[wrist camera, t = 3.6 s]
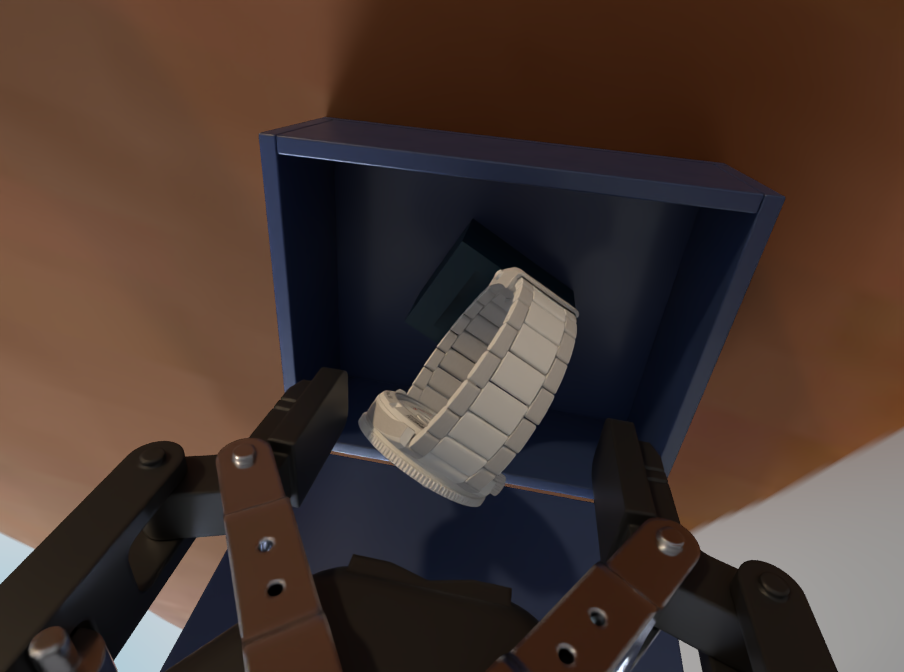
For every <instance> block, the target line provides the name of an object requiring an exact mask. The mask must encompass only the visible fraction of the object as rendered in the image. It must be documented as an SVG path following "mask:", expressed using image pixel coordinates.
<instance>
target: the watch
mask: <svg viewBox="0 0 904 672" xmlns="http://www.w3.org/2000/svg"><path fill="white" fill-rule="evenodd" d="M578 317H579V312H578V311H577V310H576V307H575V299H574V291H573V290H571V289H570V288H568V287H567V286H566V285H564V284H563V283H562V282H560V281H559V280H557V279H556V278H555V277H553V276H552V275H551V274H549V273H548V272H546V271H545V270H544V269H542V268H541V267H539V266H538V265H537V264H535V263H534V262H533V261H531V260H530V259H528V258H527V257H526V256H524V255H523V254H521V253H520V252H519V251H517V250H516V249H515V248H513V247H512V246H510V245H509V244H508V243H506V242H505V241H503V240H502V239H501V238H499V237H498V236H497V235H495V234H494V233H492V232H491V231H490V230H488V229H487V228H486V227H484V226H483V225H481V224H480V223H479V222H477V221H476V220H474V219H472V220H471V221H470V223H469V224H468V226H467V227H466V228H465V230H464V231H463V233H462V234H461V235H460V237H459V238H458V240H457V241H456V242H455V244H454V245H453V247H452V248H451V249H450V251H449V252H448V254H447V255H446V256H445V258H444V259H443V261H442V262H441V264H440V265H439V266H438V268H437V269H436V271H435V272H434V273H433V275H432V276H431V278H430V279H429V280H428V282H427V283H426V285H425V286H424V287H423V289H422V290H421V292H420V293H419V295H418V297H417V299H416V301H415V303H414V304H413V306H412V308H411V310H410V312H409V314H408V316H407V317H406V319H405V321H404V322H406V323H407V324H409V325H410V326H412V327H413V328H415V329H416V330H418V331H419V332H421V333H422V334H424V335H425V336H427V337H428V338H430V339H431V340H433V341H434V342H436V343H437V344H438V345H437V348H439V349H440V350H442V351H443V352H445V353H443V352H442V351H440V350H439V349H437V348H436V349H435V350H434V352H433V353H432V354H431V356H430V357H429V359H428V360H427V362H426V363H425V364H424V366H425V367H426V368H425V367H423V368H422V370H421V371H420V373H419V374H418V376H417V377H416V379H415V380H414V382H413V384H412V386H411V388H410V389H409V391H408V392H407V394H406V392H405V391H403V390H401V389H398V390H397V391H388V390H386V391H383V392H382V393H381V394H379V395H378V396H377V397H376V399H375V400H374V402H373V403H372V405H371V406H370V408H369V409H368V411H367V412H364V413H363V414H362V416H361V417H360V419H359V421H358V423H359V426H360V429H361V431H362V432H363V434H364V435H365V436H366V438H367V439H368V440H369V441H370V443H371V444H372V445H373V446H374V447H375V448H376V449H377V450H378V451H379V452H380V453H381V454H382V455H383V456H384V457H385V458H387V459H388V460H389V461H390V462H391V463H393V464H394V465H395V466H396V467H398V468H399V469H400V470H401V471H403V472H404V473H406V474H407V475H408V476H410V477H411V478H413V479H414V480H416V481H417V482H419V483H420V484H421V485H422V486H423V487H425V488H428V489H430V490H432V491H433V492H435V493H437V494H439V495H441V496H443V497H445V498H447V499H449V500H451V501H454V502H456V503H459V504H462V505H466V506H471V507H478V506H480V505H481V504H482V503H483V501H484V500H485V496H487V495H488V494H492V495H493V496H496V495H498V494H499V493H500V491H501V490H502V489H503V487H504V485H505V481H506V477H505V475H503V474H501V472H502V471H503V470H504V469H505V468H506V467H507V465H508V464H509V463H510V462H511V461H512V460H513V458H514V457H515V456H516V453H519V452H520V451H521V449H522V448H523V447H524V445H525V444H526V442H527V441H528V440H529V438H530V437H531V435H532V434H533V432H534V431H535V429H536V425H539V424H540V422H541V421H542V419H543V417H544V416H545V414H546V412H547V410H548V409H549V407H550V405H551V403H552V401H553V399H554V395H553V394H555V393H556V392H557V390H558V388H559V386H560V383H561V381H562V379H563V377H564V374H565V372H566V369H567V364H568V363H569V361H570V358H571V355H572V352H573V348H574V344H575V338H576V335H577V318H578ZM438 366H439V367H441V368H442V369H444V370H445V371H447V372H448V373H450V374H451V375H450V374H448V373H447V372H445V371H444V370H442V369H441V368H439V367H438ZM427 368H428V369H429V370H428V369H427ZM430 370H431V371H432V372H431V371H430ZM452 375H453V376H454V377H453V376H452ZM455 377H456V378H457V379H456V378H455ZM458 379H459V380H460V381H459V380H458ZM489 380H490V381H492V382H493V383H495V384H496V385H498V386H499V387H501V388H502V389H504V390H505V391H507V392H508V393H510V394H511V395H513V396H514V397H516V398H517V399H519V400H520V401H522V402H523V403H525V404H526V405H524V404H523V403H521V402H520V401H518V400H517V399H515V398H514V397H512V396H511V395H509V394H508V393H506V392H505V391H503V390H502V389H500V388H499V387H497V386H496V385H494V384H493V383H491V382H490V381H489ZM461 381H462V382H463V383H462V382H461ZM476 385H477V386H479V387H480V388H478V387H477V386H476ZM524 417H526V418H527V419H529V420H530V421H532V422H533V423H535V424H536V425H534V424H533V423H531V422H530V421H528V420H527V419H525V418H524Z"/></svg>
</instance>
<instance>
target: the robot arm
mask: <svg viewBox="0 0 904 672" xmlns="http://www.w3.org/2000/svg"><path fill="white" fill-rule="evenodd" d="M347 417H348V374H347V371H345V370H339V369H334V368H328V367H322V368H321V369H320V370H319V371H318V373H317V374H316V375H315V377H314V378H313V379H312V380H311V381H310V380H305V379H303V380H301V381H300V382H298V383H296V384H294V385H293V386H291V387H289V389H288V390H287V391H286V392H285V394H284V395H283V396H282V397H281V400H279V401H278V402H277V404H276V405H275V406H274V409H272V410H271V411H270V412H269V413H268V415H267V416H266V417H265V418H264V420H263V421H262V422H261V423H260V424H259V426H258V427H257V428H256V429H255V431H254V432H253V433H252V434H251V436H250V437H249V438H244V439H240V440H236V441H234V442H231V443H229V444H228V445H226V446H225V447H223V448H222V449H221V450H220V452H219V453H218V455H207V456H188V457H185V454H184V450H183V448H182V447H181V446H180V445H179V444H177V443H174V442H170V441H158V442H153V443H149V444H146V445H143V446H141V447H139V448H137V449H135V450H134V451H132V452H131V453H130V454H129V455H128V456H127V457H126V458H125V459H124V460H123V461H122V462H121V463H120V464H119V465H118V466H117V467H116V468H115V469H114V470H113V471H112V472H111V473H110V474H109V475H108V476H107V477H106V478H105V479H104V480H103V481H102V482H101V483H100V484H99V485H98V486H97V487H96V488H95V489H94V490H93V491H92V492H91V493H90V494H89V495H88V496H87V497H86V498H85V499H84V500H83V501H82V502H81V503H80V504H79V505H78V506H77V507H76V508H75V509H74V510H73V511H72V512H71V513H70V514H69V515H68V516H67V517H66V518H65V519H64V520H63V521H62V522H61V523H60V524H59V525H58V526H57V527H56V529H55V530H54V531H53V532H52V533H51V534H50V535H49V536H48V537H47V538H46V539H45V540H44V541H43V542H42V543H41V544H40V545H39V546H38V547H37V548H36V549H35V550H34V551H33V552H32V553H31V554H30V555H29V556H28V557H27V558H26V559H25V560H24V561H23V562H22V563H21V564H20V565H19V566H18V567H17V568H16V569H15V570H14V571H13V572H12V573H11V574H10V575H9V576H8V577H7V578H6V579H5V580H4V581H3V582H2V583H1V584H0V672H118V671H117V668H116V666H115V664H114V659H115V658H116V656H117V655H118V653H119V652H120V651H121V649H122V648H123V646H124V644H125V643H126V642H127V640H128V639H129V637H130V636H131V634H132V633H133V631H134V630H135V628H136V627H137V625H138V623H139V622H140V621H141V619H142V618H143V616H144V615H145V613H146V612H147V610H148V609H149V607H150V606H151V604H152V603H153V601H154V600H155V598H156V597H157V595H158V594H159V592H160V591H161V589H162V588H163V586H164V585H165V583H166V582H167V580H168V579H169V577H170V576H171V574H172V573H173V571H174V570H175V569H176V567H177V566H178V564H179V563H180V561H181V560H182V558H183V557H184V555H185V554H186V552H187V551H188V549H189V548H190V546H191V545H192V543H193V542H194V540H195V539H196V537H207V536H219V535H226V541H227V548H228V555H229V562H230V569H231V575H232V582H233V589H234V596H235V603H236V609H237V616H238V623H237V624H235V625H234V626H232V627H231V628H229V629H228V630H226V631H225V632H223V633H222V634H220V635H219V636H217V637H216V638H214V639H213V640H211V641H210V642H208V643H207V644H205V645H204V646H202V647H201V648H199V649H198V650H196V651H195V652H193V653H192V654H190V655H189V656H187V657H186V658H184V659H183V660H181V661H180V662H178V663H177V664H175V665H174V666H172V667H171V668H169V669H168V670H166V671H165V672H632V671H633V670H634V668H635V667H636V665H637V664H638V663H639V661H640V660H641V658H642V657H643V656H644V654H645V653H646V651H647V650H648V648H649V647H650V646H651V644H652V643H653V641H654V640H655V638H656V637H657V636H658V634H659V633H660V631H661V630H662V631H664V632H666V633H668V634H670V635H671V636H673V637H675V638H677V639H679V640H681V641H683V642H685V643H687V644H688V645H690V646H692V647H694V648H696V649H698V652H699V657H700V662H701V666H702V671H703V672H838V671H837V668H836V666H835V664H834V661H833V659H832V657H831V654H830V652H829V650H828V647H827V645H826V643H825V640H824V638H823V636H822V634H821V631H820V629H819V626H818V624H817V622H816V619H815V617H814V615H813V612H812V610H811V608H810V606H809V603H808V601H807V599H806V596H805V594H804V592H803V590H802V589H801V588H800V586H799V585H798V584H797V583H796V582H795V580H793V579H792V578H791V577H790V576H789V575H788V574H787V573H785V572H784V571H782V570H781V569H779V568H777V567H776V566H774V565H771V564H769V563H766V562H763V561H758V560H750V561H746V562H744V563H743V564H741V566H740V567H739V569H737V568H735V567H732V566H730V565H728V564H726V563H724V562H721V561H719V560H717V559H715V558H713V557H711V556H709V555H707V554H706V553H704V552H702V551H701V550H700V547H699V544H698V542H697V540H696V539H695V537H694V536H693V535H692V534H691V533H690V532H689V531H688V530H687V529H686V528H685V527H683V526H682V525H680V521H679V518H678V514H677V511H676V508H675V504H674V501H673V497H672V494H671V490H670V487H669V484H668V480H667V477H666V473H664V467H663V463H662V460H661V456H660V455H659V454H658V453H657V451H656V450H655V449H654V448H653V446H652V445H651V444H650V443H649V442H643V441H638V437H637V433H636V429H635V425H634V423H633V422H628V421H623V420H617V419H611V418H607V419H606V420H605V422H604V425H603V429H602V432H601V435H600V438H599V441H598V444H597V448H596V451H595V454H594V458H593V462H592V486H593V495H594V504H595V513H596V522H597V532H598V541H599V550H600V559H601V561H598V562H597V563H595V564H594V565H593V566H592V567H591V568H590V569H589V570H588V571H587V572H586V574H585V575H584V576H583V577H582V578H581V579H580V580H579V581H578V582H577V583H576V584H575V585H574V586H573V587H572V588H571V589H570V590H569V591H568V592H567V593H566V594H565V595H564V596H563V598H562V599H561V600H560V601H559V602H558V603H557V604H556V605H555V606H554V607H553V608H552V609H551V610H550V611H549V612H548V613H547V614H546V615H545V616H544V617H543V618H542V619H541V620H540V621H538V620H537V619H536V618H535V617H534V616H533V615H531V614H530V613H529V612H528V611H526V610H525V609H523V608H522V607H520V606H519V605H517V604H515V603H513V602H511V596H512V588H509V587H505V586H500V585H495V584H491V583H486V582H482V581H477V580H472V579H469V580H427V579H425V578H423V577H421V576H419V575H417V574H415V573H413V572H411V571H408V570H406V569H404V568H402V567H400V566H398V565H396V564H394V563H392V562H389V561H385V560H380V559H375V558H371V557H366V556H361V555H357V554H353V555H352V558H351V560H350V563H349V565H348V566H342V567H336V568H331V569H327V570H323V571H320V572H318V573H315V574H313V575H312V573H311V570H310V566H309V563H308V560H307V556H306V553H305V549H304V546H303V543H302V539H301V536H300V532H299V529H298V525H297V522H296V519H295V515H294V512H293V508H292V507H296V508H299V507H300V506H301V504H302V502H303V500H304V498H305V497H306V495H307V493H308V491H309V490H310V488H311V486H312V484H313V483H314V481H315V479H316V477H317V475H318V474H319V472H320V470H321V468H322V467H323V465H324V463H325V461H326V460H327V458H328V456H329V454H330V452H331V451H332V449H333V447H334V445H335V444H336V442H337V440H338V438H339V437H340V435H341V433H342V431H343V429H344V427H345V425H346V421H347Z"/></svg>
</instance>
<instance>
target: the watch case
mask: <svg viewBox="0 0 904 672" xmlns="http://www.w3.org/2000/svg"><path fill="white" fill-rule="evenodd" d="M259 143H260V152H261V162H262V172H263V182H264V192H265V202H266V212H267V222H268V232H269V242H270V251H271V261H272V271H273V281H274V291H275V301H276V311H277V321H278V331H279V340H280V350H281V360H282V370H283V380H284V390H285V392H286V391H287V390H288V389H289V387H291V386H293V385H294V384H296V383H298V382H300V381H301V380H303V379H305V380H310V381H311V380H312V379H313V378H314V377H315V375H316V374H317V373H318V371H319V370H320V369H321V368H322V367H328V368H334V369H339V370H345V371H347V374H348V417H347V421H346V425H345V427H344V429H343V431H342V433H341V435H340V437H339V438H338V440H337V442H336V444H335V445H334V447H333V449H332V451H336V452H341V453H347V454H352V455H358V456H363V457H368V458H374V459H379V460H385V461H389V460H388V459H387V458H385V457H384V456H383V455H382V454H381V453H380V452H379V451H378V450H377V449H376V448H375V447H374V446H373V445H372V444H371V443H370V441H369V440H368V439H367V438H366V436H365V435H364V434H363V432H362V431H361V429H360V426H359V423H358V421H359V419H360V417H361V416H362V414H363V413H364V412H367V411H368V409H369V408H370V406H371V405H372V403H373V402H374V400H375V399H376V397H377V396H378V395H379V394H381V393H382V392H383V391H386V390H388V391H397V390H398V389H401V390H403V391H405V392H406V394H407V392H408V391H409V389H410V388H411V386H412V384H413V382H414V380H415V379H416V377H417V376H418V374H419V373H420V371H421V370H422V368H423V367H425V366H424V364H425V363H426V362H427V360H428V359H429V357H430V356H431V354H432V353H433V352H434V350H435V349H436V348H437V345H438V344H437V343H436V342H434V341H433V340H431V339H430V338H428V337H427V336H425V335H424V334H422V333H421V332H419V331H418V330H416V329H415V328H413V327H412V326H410V325H409V324H407V323H406V322H404V321H405V319H406V317H407V316H408V314H409V312H410V310H411V308H412V306H413V304H414V303H415V301H416V299H417V297H418V295H419V293H420V292H421V290H422V289H423V287H424V286H425V285H426V283H427V282H428V280H429V279H430V278H431V276H432V275H433V273H434V272H435V271H436V269H437V268H438V266H439V265H440V264H441V262H442V261H443V259H444V258H445V256H446V255H447V254H448V252H449V251H450V249H451V248H452V247H453V245H454V244H455V242H456V241H457V240H458V238H459V237H460V235H461V234H462V233H463V231H464V230H465V228H466V227H467V226H468V224H469V223H470V221H471V220H472V219H474V220H476V221H477V222H479V223H480V224H481V225H483V226H484V227H486V228H487V229H488V230H490V231H491V232H492V233H494V234H495V235H497V236H498V237H499V238H501V239H502V240H503V241H505V242H506V243H508V244H509V245H510V246H512V247H513V248H515V249H516V250H517V251H519V252H520V253H521V254H523V255H524V256H526V257H527V258H528V259H530V260H531V261H533V262H534V263H535V264H537V265H538V266H539V267H541V268H542V269H544V270H545V271H546V272H548V273H549V274H551V275H552V276H553V277H555V278H556V279H557V280H559V281H560V282H562V283H563V284H564V285H566V286H567V287H568V288H570V289H571V290H573V291H574V299H575V307H576V310H577V311H578V312H579V317H578V318H577V335H576V338H575V344H574V348H573V352H572V355H571V358H570V361H569V363H568V364H567V369H566V372H565V374H564V377H563V379H562V381H561V383H560V386H559V388H558V390H557V392H556V393H555V394H553V395H554V399H553V401H552V403H551V405H550V407H549V409H548V410H547V412H546V414H545V416H544V417H543V419H542V421H541V422H540V424H539V425H536V424H535V423H533V422H532V421H530V420H529V419H527V418H526V417H524V418H525V419H527V420H528V421H530V422H531V423H533V424H534V425H536V429H535V431H534V432H533V434H532V435H531V437H530V438H529V440H528V441H527V442H526V444H525V445H524V447H523V448H522V449H521V451H520V452H519V453H516V456H515V457H514V458H513V460H512V461H511V462H510V463H509V464H508V465H507V467H506V468H505V469H504V470H503V471H502V472H501V474H503V475H505V477H506V481H505V483H508V484H514V485H519V486H525V487H530V488H535V489H541V490H546V491H552V492H557V493H562V494H568V495H573V496H578V497H584V498H589V499H594V495H593V486H592V462H593V458H594V454H595V451H596V448H597V444H598V441H599V438H600V435H601V432H602V429H603V425H604V422H605V420H606V419H607V418H611V419H617V420H623V421H628V422H633V423H634V425H635V429H636V433H637V437H638V441H643V442H649V443H650V444H651V445H652V446H653V448H654V449H655V450H656V451H657V453H658V454H659V455H660V456H661V460H662V463H663V467H664V473H666V477H667V478H668V476H669V473H670V471H671V468H672V466H673V464H674V461H675V459H676V457H677V454H678V452H679V449H680V447H681V445H682V442H683V440H684V438H685V435H686V433H687V431H688V428H689V426H690V423H691V421H692V419H693V416H694V414H695V412H696V409H697V407H698V404H699V402H700V400H701V397H702V395H703V393H704V390H705V388H706V385H707V383H708V381H709V378H710V376H711V374H712V371H713V369H714V367H715V364H716V362H717V359H718V357H719V355H720V352H721V350H722V348H723V345H724V343H725V340H726V338H727V336H728V333H729V331H730V329H731V326H732V324H733V322H734V319H735V317H736V314H737V312H738V310H739V307H740V305H741V303H742V300H743V298H744V295H745V293H746V291H747V288H748V286H749V284H750V281H751V279H752V276H753V274H754V272H755V269H756V267H757V265H758V262H759V260H760V258H761V255H762V253H763V250H764V248H765V246H766V243H767V241H768V239H769V236H770V234H771V231H772V229H773V227H774V224H775V222H776V220H777V217H778V215H779V212H780V210H781V208H782V205H783V203H784V201H785V196H783V195H781V194H779V193H777V192H776V191H774V190H772V189H770V188H768V187H766V186H765V185H763V184H761V183H759V182H757V181H756V180H754V179H752V178H750V177H748V176H746V175H745V174H743V173H741V172H739V171H737V170H736V169H734V168H732V167H730V166H728V165H726V164H725V163H718V162H709V161H701V160H692V159H684V158H675V157H666V156H658V155H649V154H641V153H632V152H623V151H615V150H606V149H598V148H589V147H580V146H572V145H563V144H555V143H546V142H537V141H529V140H520V139H512V138H503V137H494V136H486V135H477V134H469V133H460V132H451V131H443V130H434V129H426V128H417V127H408V126H400V125H391V124H383V123H374V122H365V121H357V120H348V119H340V118H331V117H323V118H319V119H315V120H311V121H307V122H303V123H298V124H294V125H290V126H286V127H282V128H278V129H274V130H270V131H265V132H261V133H259ZM437 349H439V348H437ZM439 350H440V349H439ZM440 351H442V350H440ZM442 352H443V351H442ZM443 353H445V352H443ZM438 367H439V366H438ZM425 368H426V367H425ZM439 368H441V367H439ZM427 369H428V368H427ZM441 369H442V368H441ZM428 370H429V369H428ZM442 370H444V369H442ZM430 371H431V370H430ZM444 371H445V370H444ZM431 372H432V371H431ZM445 372H447V371H445ZM447 373H448V372H447ZM448 374H450V373H448ZM450 375H451V374H450ZM452 376H453V375H452ZM453 377H454V376H453ZM455 378H456V377H455ZM456 379H457V378H456ZM458 380H459V379H458ZM459 381H460V380H459ZM489 381H490V380H489ZM461 382H462V381H461ZM490 382H491V383H493V382H492V381H490ZM462 383H463V382H462ZM493 384H494V385H496V384H495V383H493ZM476 386H477V385H476ZM496 386H497V387H499V386H498V385H496ZM477 387H478V388H480V387H479V386H477ZM499 388H500V389H502V388H501V387H499ZM502 390H503V391H505V390H504V389H502ZM505 392H506V393H508V392H507V391H505ZM508 394H509V395H511V394H510V393H508ZM511 396H512V397H514V396H513V395H511ZM514 398H515V399H517V398H516V397H514ZM517 400H518V401H520V400H519V399H517ZM520 402H521V403H523V402H522V401H520ZM523 404H524V405H526V404H525V403H523Z"/></svg>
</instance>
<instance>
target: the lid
mask: <svg viewBox="0 0 904 672" xmlns="http://www.w3.org/2000/svg"><path fill="white" fill-rule="evenodd" d="M292 508H293V512H294V515H295V519H296V522H297V525H298V529H299V532H300V536H301V539H302V543H303V546H304V549H305V553H306V556H307V560H308V563H309V566H310V570H311V573H312V575H313V574H315V573H318V572H320V571H323V570H327V569H331V568H336V567H342V566H348V565H349V563H350V560H351V558H352V555H353V554H357V555H361V556H366V557H371V558H375V559H380V560H385V561H389V562H392V563H394V564H396V565H398V566H400V567H402V568H404V569H406V570H408V571H411V572H413V573H415V574H417V575H419V576H421V577H423V578H425V579H427V580H469V579H472V580H477V581H482V582H486V583H491V584H495V585H500V586H505V587H509V588H512V596H511V602H513V603H515V604H517V605H519V606H520V607H522V608H523V609H525V610H526V611H528V612H529V613H530V614H531V615H533V616H534V617H535V618H536V619H537V620H538V621H540V620H541V619H542V618H543V617H544V616H545V615H546V614H547V613H548V612H549V611H550V610H551V609H552V608H553V607H554V606H555V605H556V604H557V603H558V602H559V601H560V600H561V599H562V598H563V596H564V595H565V594H566V593H567V592H568V591H569V590H570V589H571V588H572V587H573V586H574V585H575V584H576V583H577V582H578V581H579V580H580V579H581V578H582V577H583V576H584V575H585V574H586V572H587V571H588V570H589V569H590V568H591V567H592V566H593V565H594V564H595V563H597V562H598V561H601V559H600V550H599V541H598V532H597V522H596V513H595V504H594V503H591V502H585V501H580V500H575V499H569V498H564V497H559V496H553V495H548V494H542V493H537V492H532V491H526V490H521V489H516V488H510V487H505V486H504V487H503V489H502V490H501V491H500V493H499V494H498V495H496V496H493V495H492V494H488V495H487V496H485V500H484V501H483V503H482V504H481V505H480V506H478V507H471V506H466V505H462V504H459V503H456V502H454V501H451V500H449V499H447V498H445V497H443V496H441V495H439V494H437V493H435V492H433V491H432V490H430V489H428V488H425V487H423V486H422V485H421V484H420V483H419V482H417V481H416V480H414V479H413V478H411V477H410V476H408V475H407V474H406V473H404V472H403V471H401V470H400V469H399V468H398V467H396V466H392V465H387V464H382V463H376V462H371V461H365V460H360V459H355V458H349V457H344V456H339V455H333V454H329V456H328V458H327V460H326V461H325V463H324V465H323V467H322V468H321V470H320V472H319V474H318V475H317V477H316V479H315V481H314V483H313V484H312V486H311V488H310V490H309V491H308V493H307V495H306V497H305V498H304V500H303V502H302V504H301V506H300V507H299V508H296V507H292ZM237 623H238V616H237V609H236V603H235V596H234V589H233V582H232V575H231V569H230V562H229V555H228V549H227V550H226V552H225V554H224V556H223V558H222V560H221V561H220V563H219V565H218V567H217V569H216V570H215V572H214V574H213V576H212V578H211V580H210V581H209V583H208V585H207V587H206V589H205V590H204V592H203V594H202V596H201V598H200V600H199V601H198V603H197V605H196V607H195V609H194V610H193V612H192V614H191V616H190V618H189V620H188V621H187V623H186V625H185V627H184V629H183V630H182V632H181V634H180V636H179V638H178V640H177V642H176V643H175V645H174V647H173V649H172V650H171V653H170V654H169V656H168V658H167V660H166V661H165V663H164V665H163V667H162V669H161V671H160V672H165V671H166V670H168V669H169V668H171V667H172V666H174V665H175V664H177V663H178V662H180V661H181V660H183V659H184V658H186V657H187V656H189V655H190V654H192V653H193V652H195V651H196V650H198V649H199V648H201V647H202V646H204V645H205V644H207V643H208V642H210V641H211V640H213V639H214V638H216V637H217V636H219V635H220V634H222V633H223V632H225V631H226V630H228V629H229V628H231V627H232V626H234V625H235V624H237ZM632 672H684V671H683V665H682V659H681V653H680V647H679V641H678V639H677V638H675V637H673V636H671V635H670V634H668V633H666V632H664V631H662V630H661V631H660V633H659V634H658V636H657V637H656V638H655V640H654V641H653V643H652V644H651V646H650V647H649V648H648V650H647V651H646V653H645V654H644V656H643V657H642V658H641V660H640V661H639V663H638V664H637V665H636V667H635V668H634V670H633V671H632Z"/></svg>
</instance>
